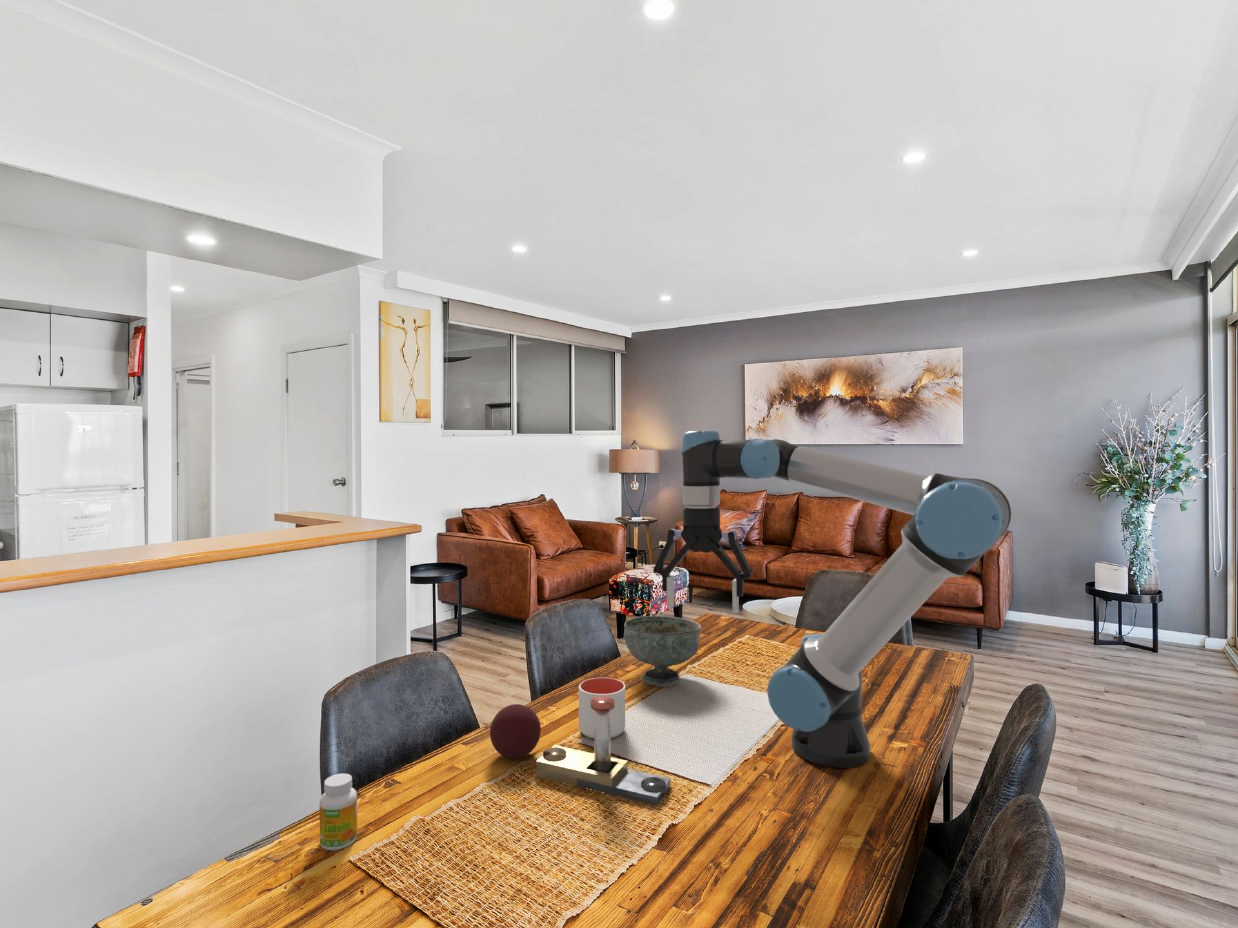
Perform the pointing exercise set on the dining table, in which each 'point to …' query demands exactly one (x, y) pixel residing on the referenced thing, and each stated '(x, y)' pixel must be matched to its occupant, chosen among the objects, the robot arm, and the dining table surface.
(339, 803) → the supplement bottle
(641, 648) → the bowl
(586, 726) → the cup
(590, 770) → the chain ends
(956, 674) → the dining table surface
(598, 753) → the pin
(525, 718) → the decorative ball
